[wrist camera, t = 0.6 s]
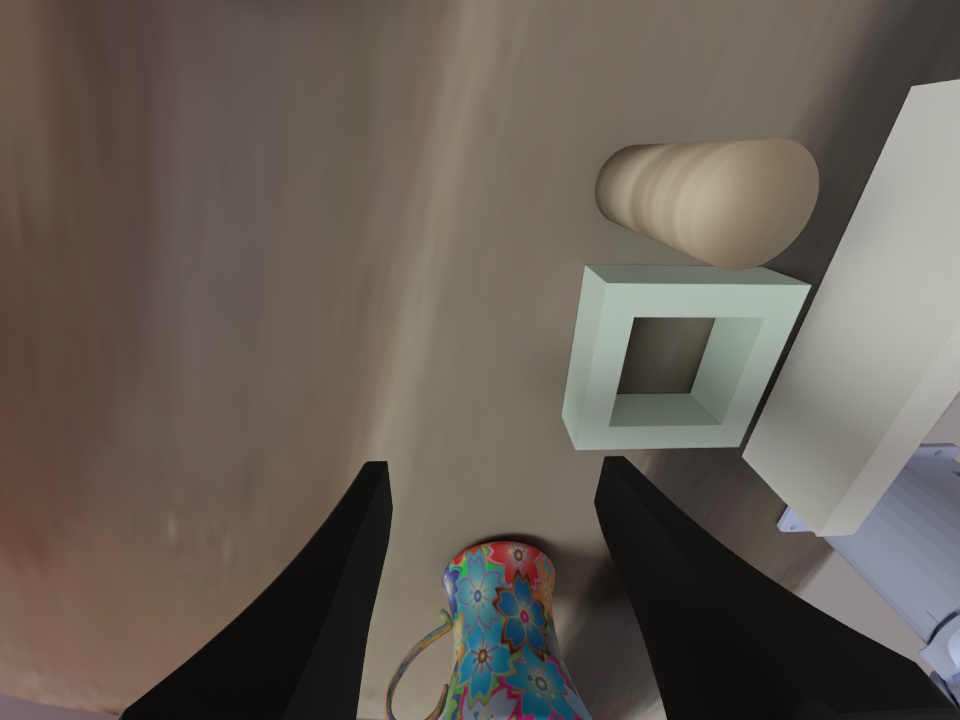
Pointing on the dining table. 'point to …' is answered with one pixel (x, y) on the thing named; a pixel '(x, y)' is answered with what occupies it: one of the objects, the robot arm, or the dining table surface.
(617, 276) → the socket block
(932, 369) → the wall
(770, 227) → the dowel
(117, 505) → the dining table surface
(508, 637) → the mug
